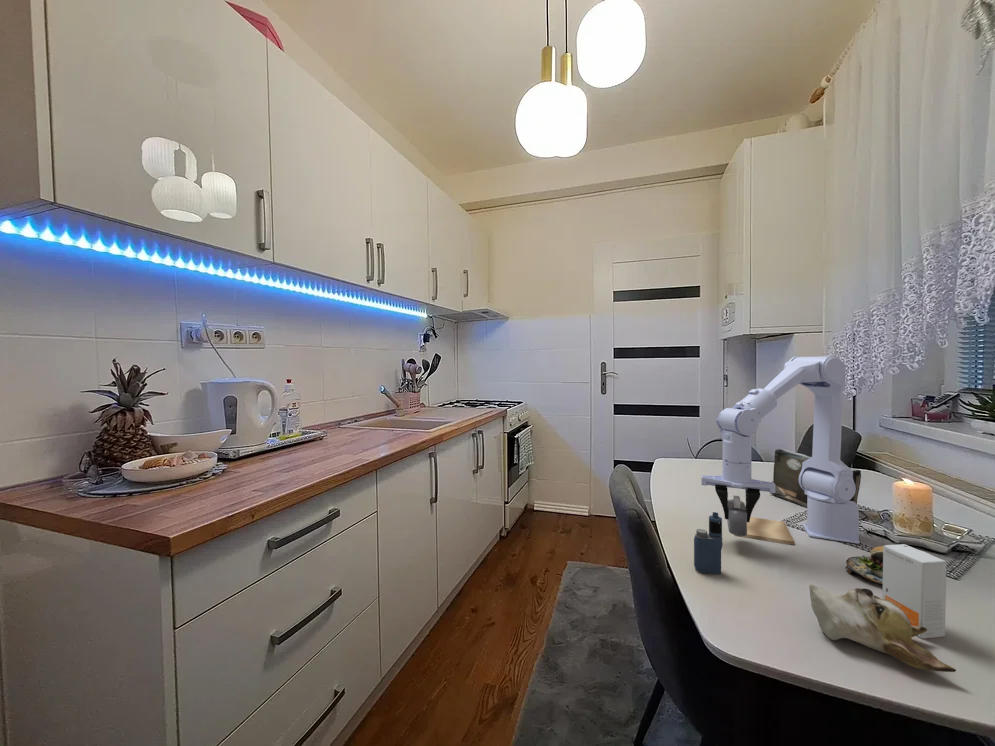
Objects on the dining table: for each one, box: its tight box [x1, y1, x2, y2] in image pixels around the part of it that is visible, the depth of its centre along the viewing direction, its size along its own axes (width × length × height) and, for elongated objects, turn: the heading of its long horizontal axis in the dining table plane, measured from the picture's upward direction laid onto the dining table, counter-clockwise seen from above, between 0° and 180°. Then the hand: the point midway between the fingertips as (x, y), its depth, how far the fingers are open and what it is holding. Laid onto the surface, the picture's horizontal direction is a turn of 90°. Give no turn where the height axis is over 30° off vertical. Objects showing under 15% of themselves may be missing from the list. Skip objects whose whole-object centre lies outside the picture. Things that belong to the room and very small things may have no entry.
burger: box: [845, 536, 884, 585], centre depth 78 cm, size 12×12×8 cm
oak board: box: [734, 516, 795, 546], centre depth 101 cm, size 12×13×1 cm
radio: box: [769, 448, 862, 508], centre depth 118 cm, size 23×9×15 cm, turn 9°
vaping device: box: [693, 511, 724, 575], centre depth 82 cm, size 3×5×12 cm, turn 78°
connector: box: [726, 495, 747, 537], centre depth 92 cm, size 4×10×7 cm, turn 153°
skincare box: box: [881, 543, 947, 640], centre depth 64 cm, size 6×4×12 cm
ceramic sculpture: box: [809, 584, 957, 673], centre depth 60 cm, size 11×9×15 cm
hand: (736, 519), depth 92 cm, fingers closed on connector, 3 cm apart
